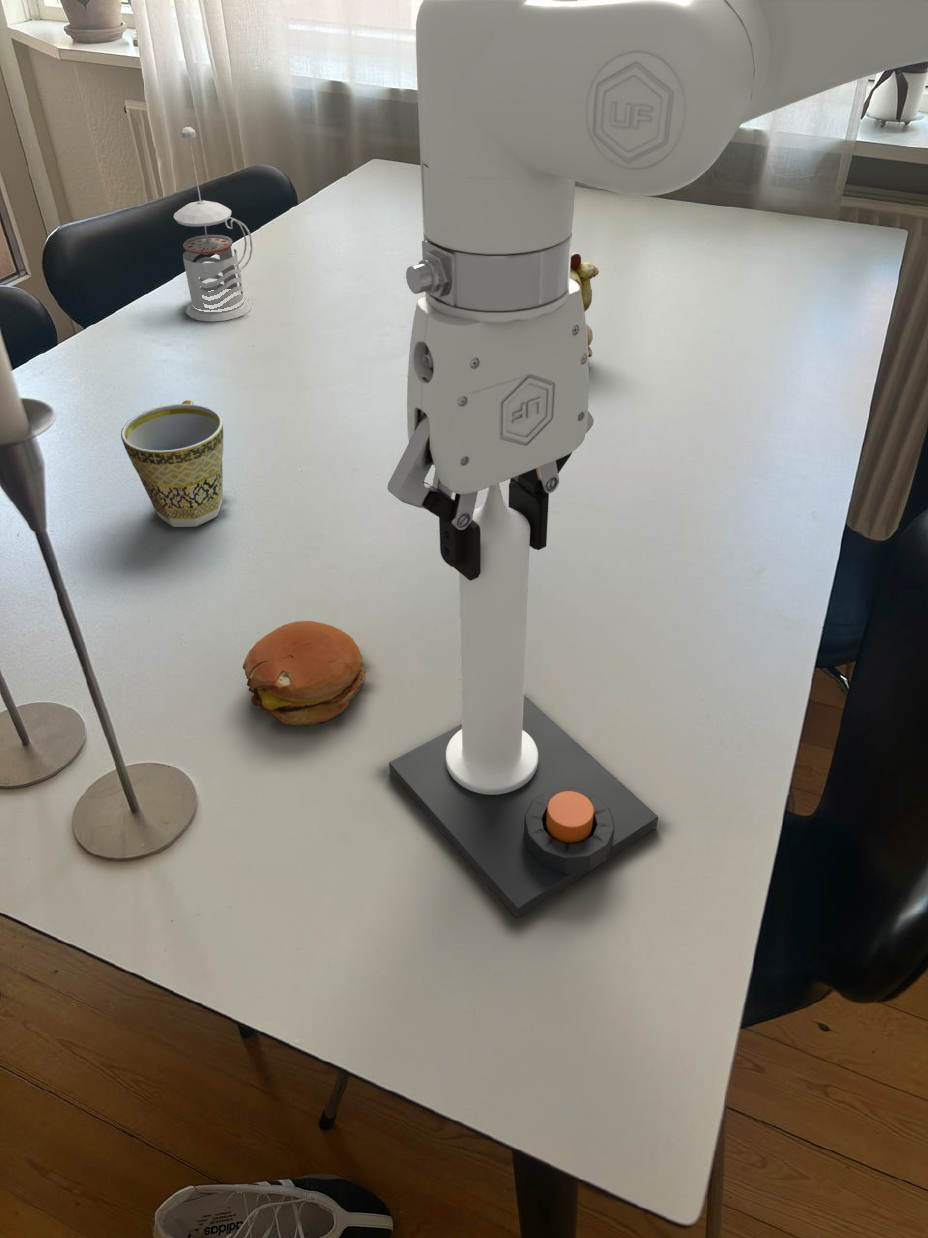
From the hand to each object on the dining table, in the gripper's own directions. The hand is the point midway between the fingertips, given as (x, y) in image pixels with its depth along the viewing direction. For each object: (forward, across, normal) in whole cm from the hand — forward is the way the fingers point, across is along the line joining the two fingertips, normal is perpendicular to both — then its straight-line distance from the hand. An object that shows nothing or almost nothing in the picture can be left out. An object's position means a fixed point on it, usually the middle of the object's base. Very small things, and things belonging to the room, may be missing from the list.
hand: (494, 551), depth 61 cm
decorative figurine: (+21, +50, +53) cm, 76 cm away
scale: (+21, 0, -3) cm, 21 cm away
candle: (+20, 0, 0) cm, 20 cm away
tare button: (+18, 0, -9) cm, 20 cm away
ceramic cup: (+21, -3, +50) cm, 54 cm away
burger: (+21, -7, +17) cm, 28 cm away
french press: (+21, +23, +98) cm, 102 cm away
